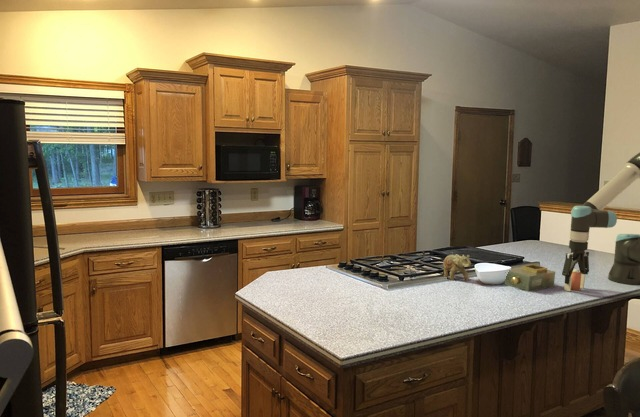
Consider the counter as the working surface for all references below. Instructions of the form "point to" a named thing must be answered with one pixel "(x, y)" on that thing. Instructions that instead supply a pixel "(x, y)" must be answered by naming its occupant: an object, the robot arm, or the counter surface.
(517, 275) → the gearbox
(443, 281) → the counter surface
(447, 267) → the figurine
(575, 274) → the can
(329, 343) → the counter surface
